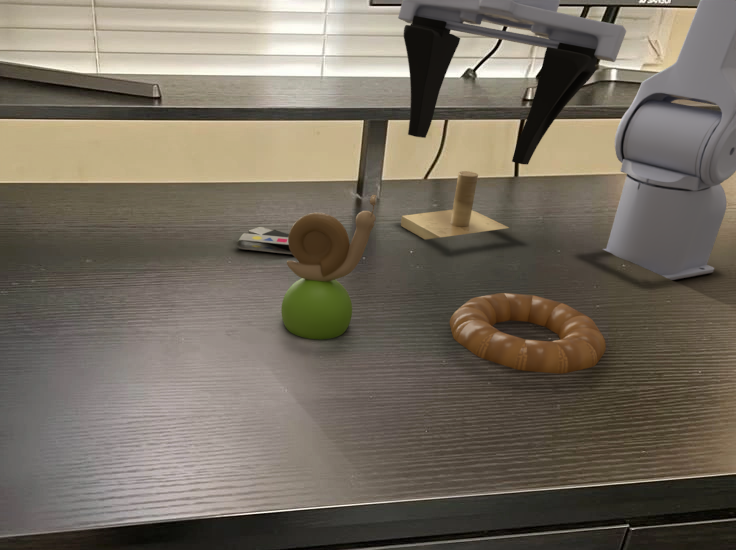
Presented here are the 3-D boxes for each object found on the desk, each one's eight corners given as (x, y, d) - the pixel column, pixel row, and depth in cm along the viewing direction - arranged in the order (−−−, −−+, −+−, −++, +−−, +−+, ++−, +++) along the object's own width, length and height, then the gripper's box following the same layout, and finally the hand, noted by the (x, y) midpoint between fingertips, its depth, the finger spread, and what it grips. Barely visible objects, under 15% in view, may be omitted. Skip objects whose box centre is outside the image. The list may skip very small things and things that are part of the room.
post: (465, 217, 86) (475, 159, 83) (518, 243, 79) (531, 181, 76) (400, 225, 83) (408, 166, 80) (449, 253, 76) (459, 189, 73)
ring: (527, 312, 64) (535, 280, 63) (631, 373, 55) (642, 338, 54) (420, 332, 60) (425, 299, 59) (512, 402, 51) (521, 365, 50)
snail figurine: (358, 363, 56) (375, 208, 50) (274, 353, 57) (281, 199, 51) (364, 331, 60) (380, 185, 54) (286, 322, 61) (293, 178, 55)
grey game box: (326, 254, 74) (326, 244, 74) (293, 268, 71) (294, 258, 70) (261, 233, 79) (261, 224, 79) (227, 245, 76) (227, 236, 75)
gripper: (408, -97, 47) (352, 122, 52) (649, -69, 41) (559, 176, 46) (443, -67, 53) (389, 127, 58) (658, -39, 47) (577, 175, 52)
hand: (466, 149), depth 52 cm, fingers open, 7 cm apart
